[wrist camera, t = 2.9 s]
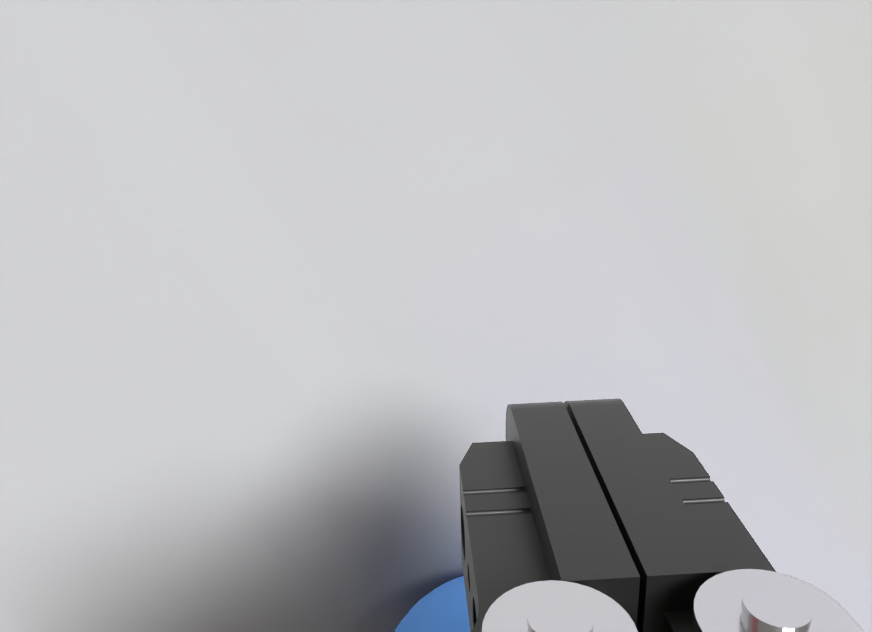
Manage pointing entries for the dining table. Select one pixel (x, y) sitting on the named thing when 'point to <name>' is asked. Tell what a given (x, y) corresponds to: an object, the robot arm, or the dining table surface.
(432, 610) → the ball
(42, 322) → the dining table surface
